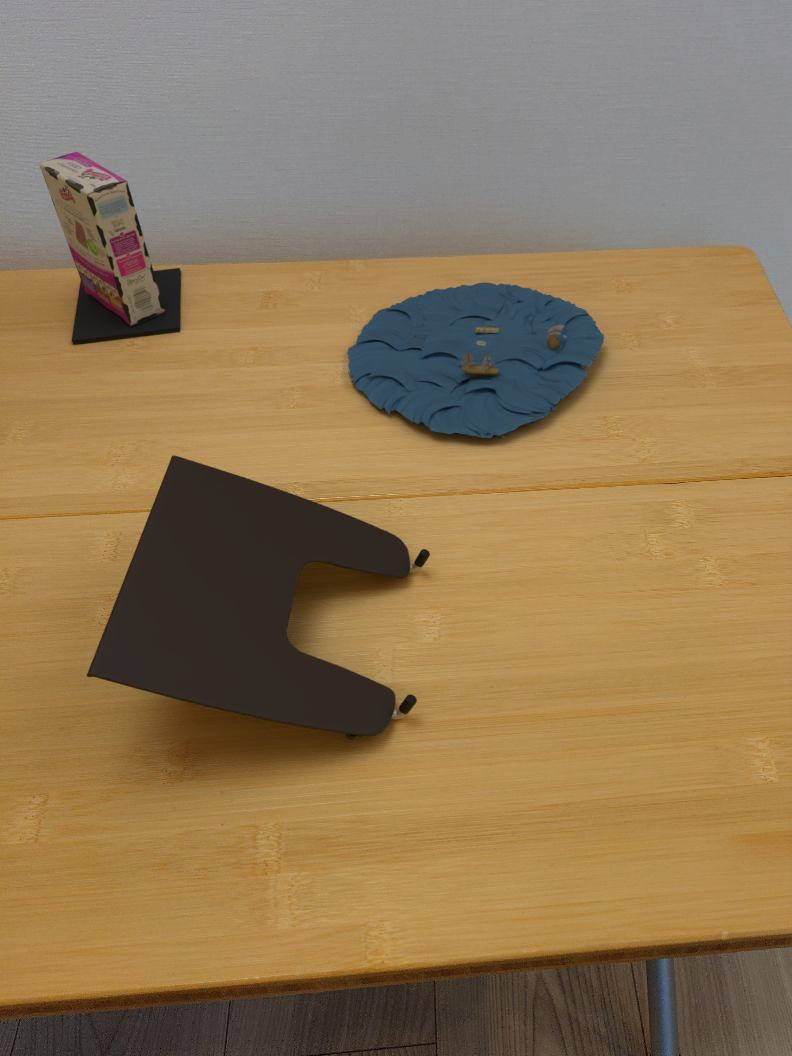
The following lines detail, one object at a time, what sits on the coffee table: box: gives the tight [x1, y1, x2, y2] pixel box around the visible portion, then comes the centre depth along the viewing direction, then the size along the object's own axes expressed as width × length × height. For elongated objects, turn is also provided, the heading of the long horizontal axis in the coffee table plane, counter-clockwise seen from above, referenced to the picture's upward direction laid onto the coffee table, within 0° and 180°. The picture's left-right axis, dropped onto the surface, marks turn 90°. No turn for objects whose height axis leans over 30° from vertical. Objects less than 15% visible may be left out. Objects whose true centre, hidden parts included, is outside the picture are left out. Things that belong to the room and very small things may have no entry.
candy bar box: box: [38, 151, 166, 326], centre depth 109 cm, size 11×5×16 cm, turn 47°
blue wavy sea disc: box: [347, 282, 605, 439], centre depth 107 cm, size 30×30×5 cm
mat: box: [71, 267, 182, 345], centre depth 116 cm, size 12×14×1 cm
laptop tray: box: [86, 455, 431, 741], centre depth 78 cm, size 23×23×9 cm
